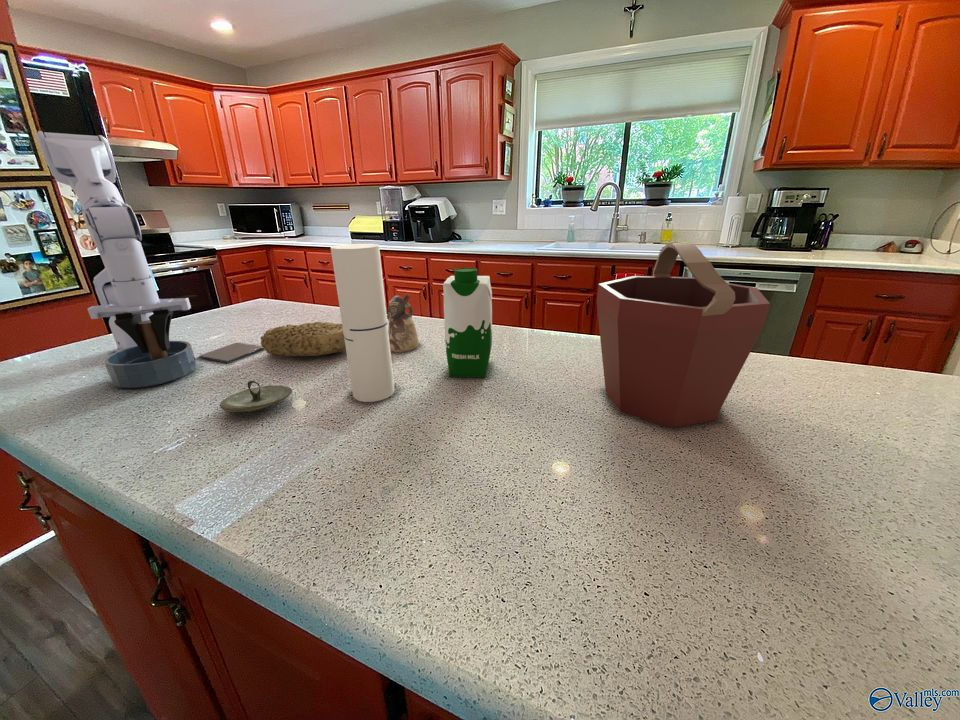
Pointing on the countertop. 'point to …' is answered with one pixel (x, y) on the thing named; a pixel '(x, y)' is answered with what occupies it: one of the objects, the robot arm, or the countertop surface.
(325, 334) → the sponge
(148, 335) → the brown wooden peg
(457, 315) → the milk carton
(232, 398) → the lid
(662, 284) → the bucket
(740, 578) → the countertop surface
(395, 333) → the figurine
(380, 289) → the cylindrical container
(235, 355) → the square mirror plate
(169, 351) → the bowl
